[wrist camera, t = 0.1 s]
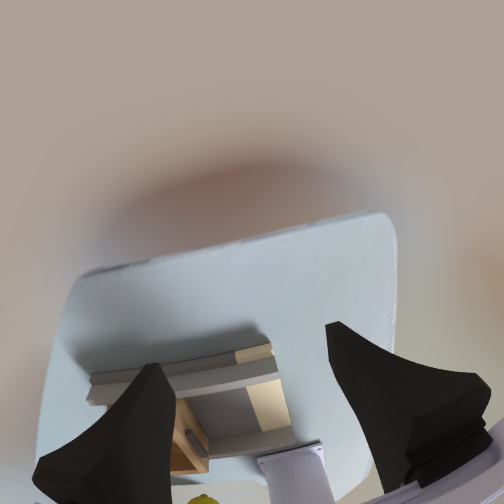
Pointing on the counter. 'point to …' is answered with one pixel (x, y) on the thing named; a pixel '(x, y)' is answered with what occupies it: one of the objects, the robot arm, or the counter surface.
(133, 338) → the counter surface
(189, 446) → the crate
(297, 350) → the counter surface
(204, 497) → the lemon
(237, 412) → the bay
